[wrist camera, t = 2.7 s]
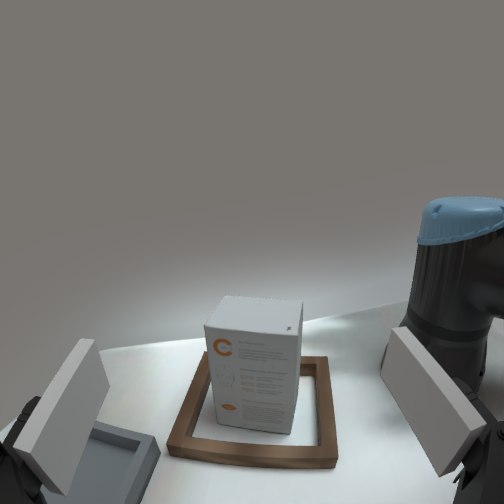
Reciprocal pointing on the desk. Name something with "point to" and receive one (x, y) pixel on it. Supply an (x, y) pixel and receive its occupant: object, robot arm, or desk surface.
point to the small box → (255, 361)
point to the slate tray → (111, 468)
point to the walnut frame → (257, 454)
